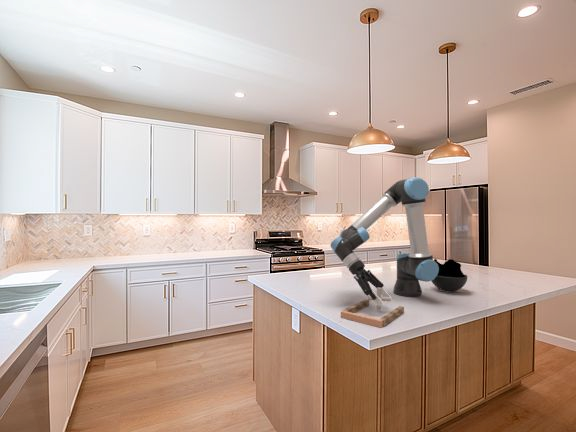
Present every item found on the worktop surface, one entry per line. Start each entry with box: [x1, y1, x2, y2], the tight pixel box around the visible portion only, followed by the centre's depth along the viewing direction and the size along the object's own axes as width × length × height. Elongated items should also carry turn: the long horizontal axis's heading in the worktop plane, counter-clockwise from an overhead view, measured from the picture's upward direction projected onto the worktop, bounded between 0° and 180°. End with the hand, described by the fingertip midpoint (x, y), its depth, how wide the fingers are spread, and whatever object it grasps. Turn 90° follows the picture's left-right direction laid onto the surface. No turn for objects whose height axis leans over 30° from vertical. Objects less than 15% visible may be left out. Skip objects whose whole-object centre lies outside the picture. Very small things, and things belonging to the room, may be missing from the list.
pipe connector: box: [367, 288, 392, 311], centre depth 137 cm, size 10×10×10 cm
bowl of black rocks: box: [431, 258, 468, 293], centre depth 174 cm, size 20×20×19 cm
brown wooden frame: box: [341, 299, 405, 327], centre depth 132 cm, size 23×19×2 cm
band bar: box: [340, 310, 384, 328], centre depth 123 cm, size 2×18×2 cm, turn 49°
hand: (385, 302), depth 134 cm, fingers closed on pipe connector, 9 cm apart
